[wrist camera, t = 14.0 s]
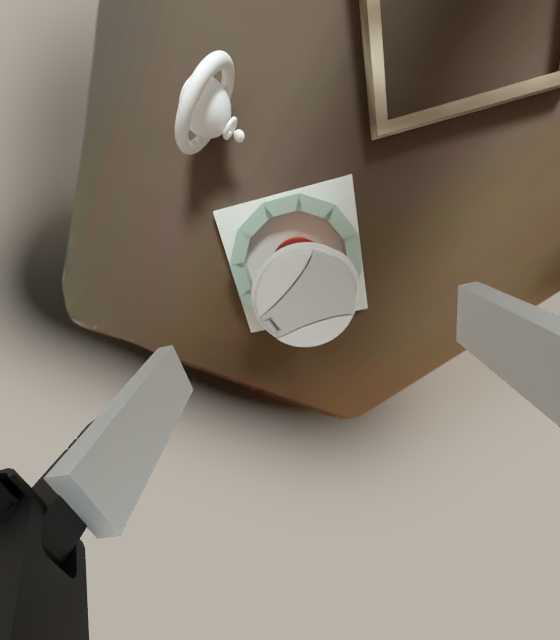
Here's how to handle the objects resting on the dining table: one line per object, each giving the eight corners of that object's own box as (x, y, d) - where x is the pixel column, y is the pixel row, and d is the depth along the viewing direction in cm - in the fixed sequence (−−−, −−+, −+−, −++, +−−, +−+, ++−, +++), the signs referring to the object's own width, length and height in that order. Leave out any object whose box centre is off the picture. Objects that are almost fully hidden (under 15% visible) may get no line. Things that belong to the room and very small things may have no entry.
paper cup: (289, 305, 33) (292, 371, 20) (250, 254, 30) (225, 291, 17) (344, 268, 31) (386, 314, 18) (307, 210, 28) (325, 216, 15)
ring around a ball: (221, 64, 24) (194, 5, 17) (271, 109, 26) (266, 71, 18) (181, 147, 27) (143, 126, 20) (228, 183, 28) (209, 176, 21)
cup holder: (214, 211, 29) (207, 211, 27) (349, 174, 28) (356, 171, 25) (251, 329, 35) (249, 340, 32) (365, 305, 34) (372, 314, 31)
